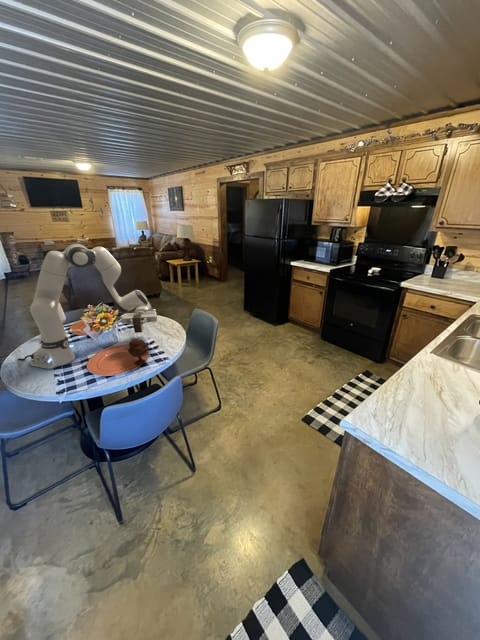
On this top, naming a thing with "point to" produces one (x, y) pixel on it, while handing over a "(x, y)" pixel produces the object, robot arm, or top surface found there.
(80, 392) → the top surface
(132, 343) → the ice cream bowl
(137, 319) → the eraser
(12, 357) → the top surface
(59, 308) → the champagne flute
